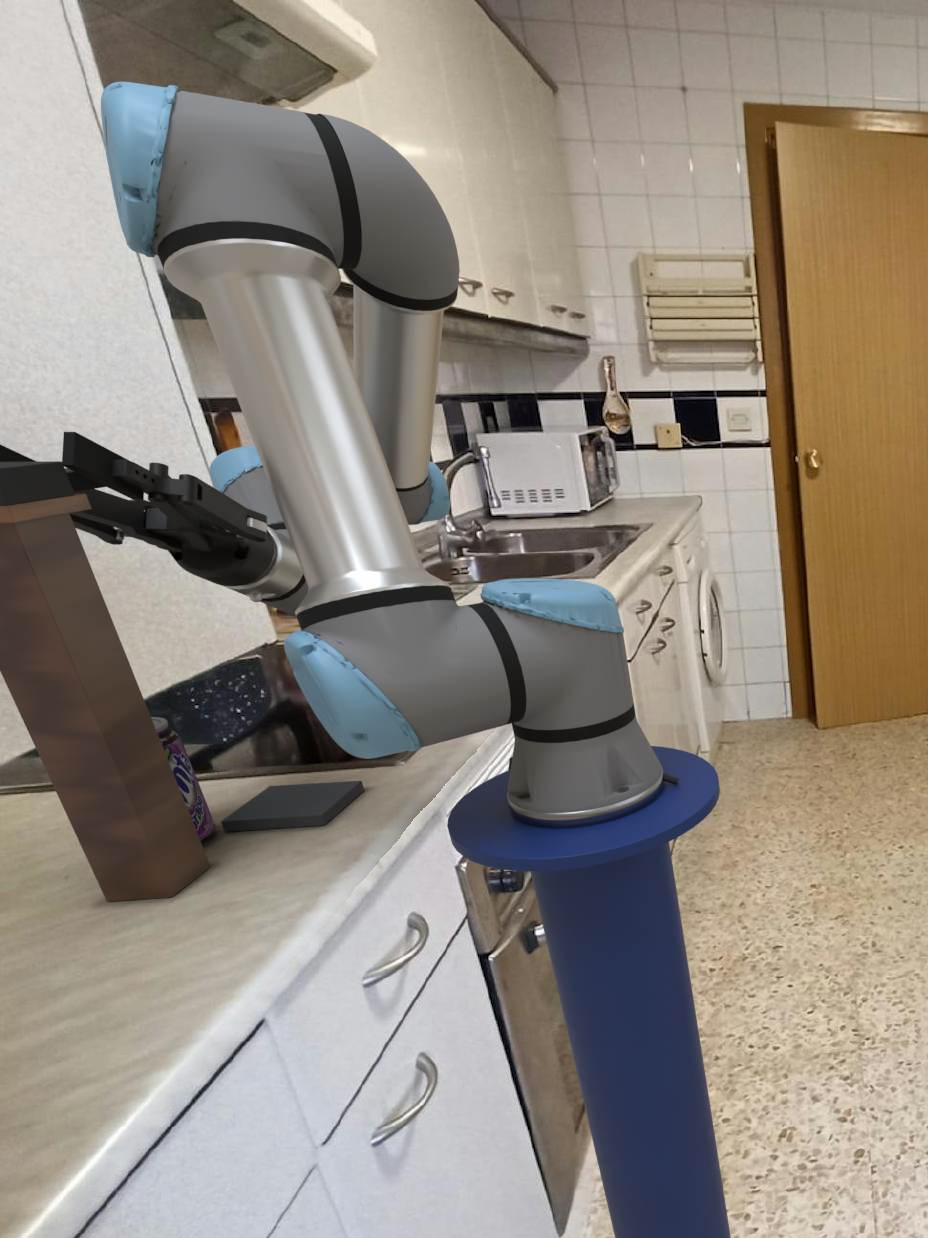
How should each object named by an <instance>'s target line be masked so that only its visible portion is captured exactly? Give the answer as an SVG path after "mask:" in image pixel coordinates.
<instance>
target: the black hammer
mask: <svg viewBox="0 0 928 1238" xmlns="http://www.w3.org/2000/svg"><path fill="white" fill-rule="evenodd" d="M101 488H107V487H106V486H104V485H102V484H100V483H98V482H95V481H93V480H91V479H89V478H87V477H85V476H83V475H81V474H79V473H77V472H75V471H72V470H70V469H68V468H66V467H64V466H63V465H62V460H61V461H60V460H58V461H57V460H56V461H55V460H54V461H53V460H52V461H48V460H47V461H37V462H0V506H7V505H14V504H20V503H27V502H33V501H40V500H46V499H52V498H59V497H65V496H72V495H75V494H74V492H75V491H82V490H89V489H101Z"/></svg>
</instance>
